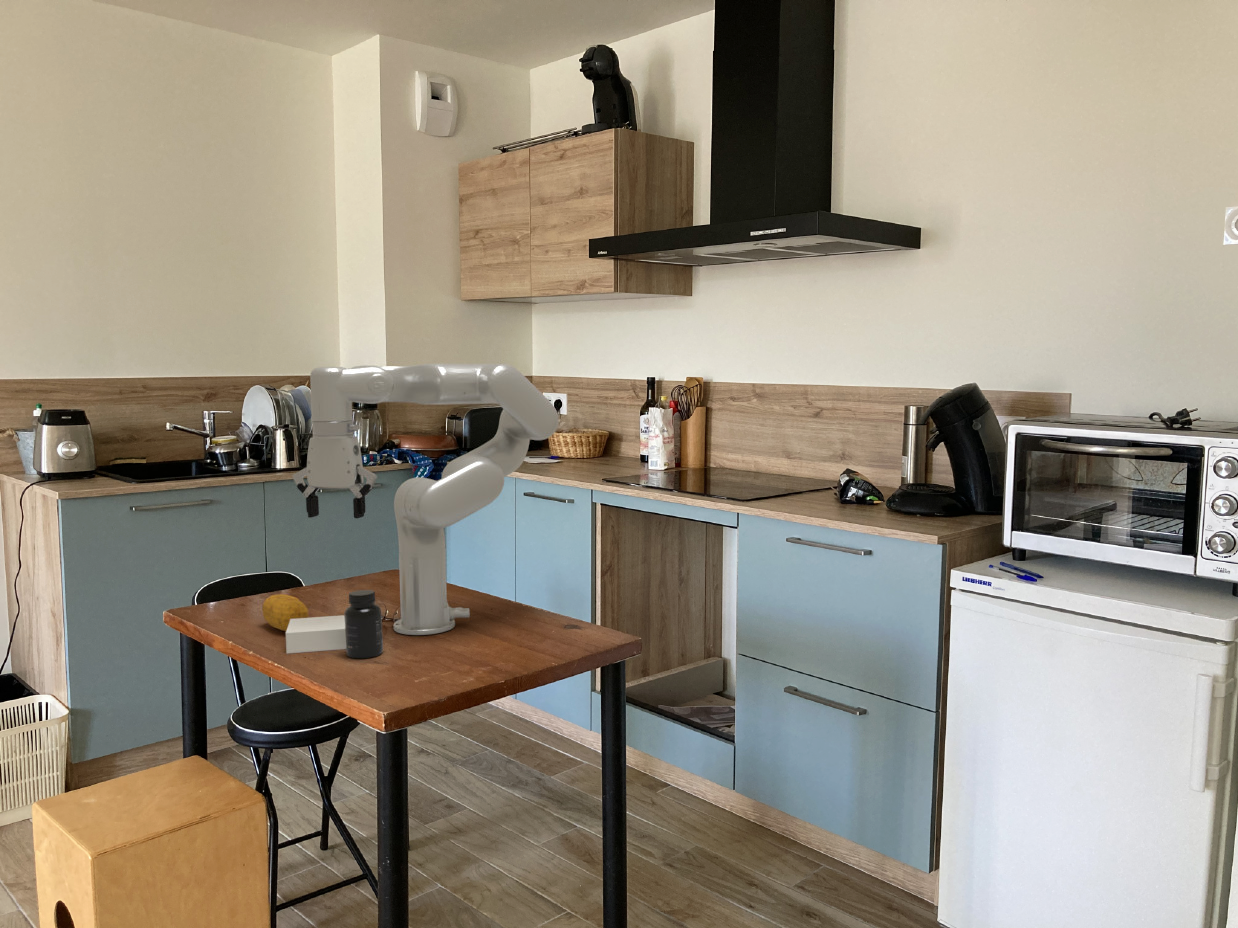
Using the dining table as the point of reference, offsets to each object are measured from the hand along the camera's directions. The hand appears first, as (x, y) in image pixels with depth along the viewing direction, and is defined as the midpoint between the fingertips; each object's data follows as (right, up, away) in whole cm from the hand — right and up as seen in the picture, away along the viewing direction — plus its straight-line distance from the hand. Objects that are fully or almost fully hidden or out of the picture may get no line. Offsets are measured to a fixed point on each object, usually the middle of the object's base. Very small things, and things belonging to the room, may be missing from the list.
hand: (336, 516), depth 188 cm
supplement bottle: (+7, -26, -6) cm, 28 cm away
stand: (-4, -25, +1) cm, 25 cm away
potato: (-14, -25, +12) cm, 31 cm away
